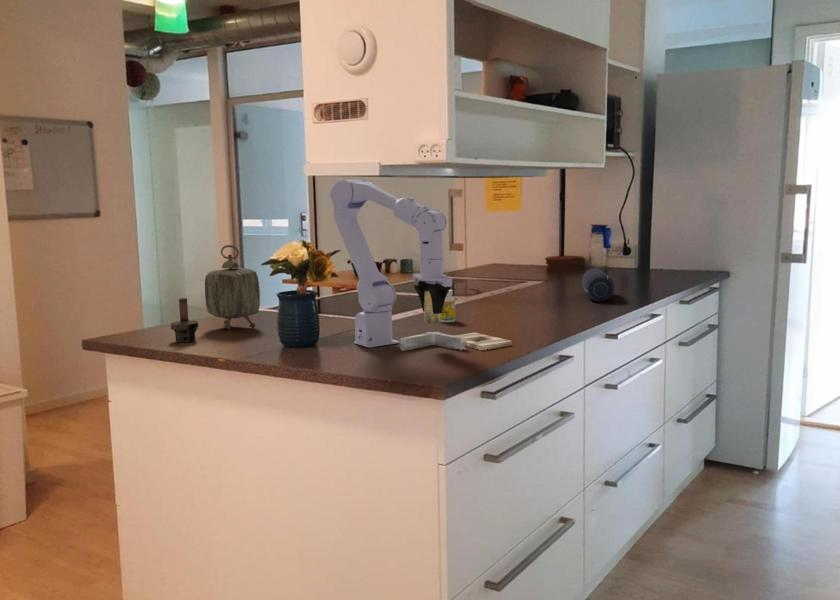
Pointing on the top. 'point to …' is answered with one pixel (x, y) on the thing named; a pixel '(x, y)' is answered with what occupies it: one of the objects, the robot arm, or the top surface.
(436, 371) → the top surface
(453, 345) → the grey angled bracket
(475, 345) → the beige plate with hole
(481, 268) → the top surface
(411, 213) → the robot arm
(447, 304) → the supplement bottle
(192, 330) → the industrial component
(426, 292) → the brass axle
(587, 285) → the portable speaker
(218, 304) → the tabletop clock
